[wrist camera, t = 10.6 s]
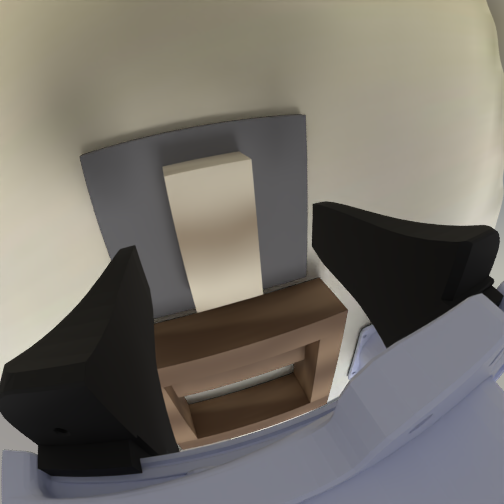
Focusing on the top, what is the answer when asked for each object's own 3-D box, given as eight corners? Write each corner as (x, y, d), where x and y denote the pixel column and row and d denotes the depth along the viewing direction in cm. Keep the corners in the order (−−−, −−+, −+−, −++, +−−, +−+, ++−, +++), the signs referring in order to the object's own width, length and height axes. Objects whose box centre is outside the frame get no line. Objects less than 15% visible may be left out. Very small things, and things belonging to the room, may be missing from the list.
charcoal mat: (302, 272, 21) (306, 276, 20) (137, 316, 18) (137, 322, 18) (300, 114, 15) (305, 115, 14) (82, 154, 12) (79, 157, 12)
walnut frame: (309, 376, 29) (326, 403, 26) (175, 417, 26) (183, 449, 22) (319, 277, 22) (347, 310, 19) (122, 331, 18) (123, 376, 15)
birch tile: (252, 275, 19) (263, 294, 17) (191, 291, 18) (197, 312, 16) (239, 151, 14) (251, 159, 13) (162, 166, 14) (164, 176, 12)
